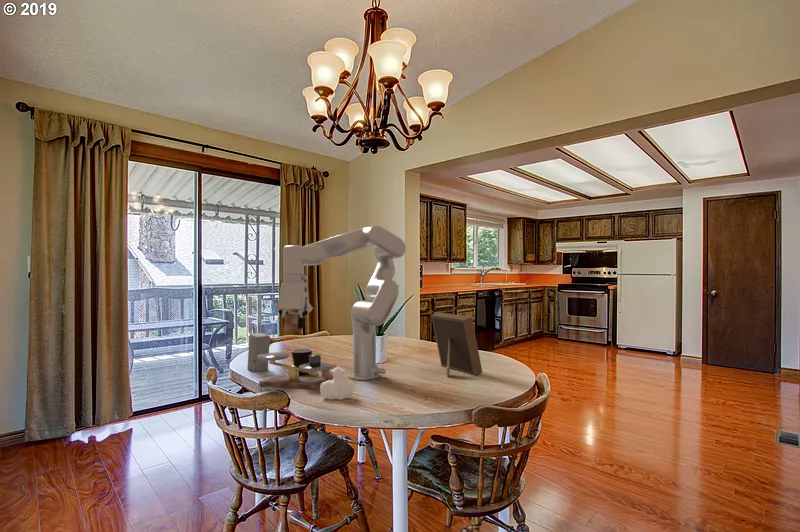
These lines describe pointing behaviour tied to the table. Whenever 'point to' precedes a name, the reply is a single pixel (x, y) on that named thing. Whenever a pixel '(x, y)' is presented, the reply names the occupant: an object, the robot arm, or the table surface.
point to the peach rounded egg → (328, 372)
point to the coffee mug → (301, 358)
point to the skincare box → (258, 351)
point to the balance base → (292, 382)
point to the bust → (337, 386)
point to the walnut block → (291, 322)
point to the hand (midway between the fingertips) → (293, 327)
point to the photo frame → (457, 343)
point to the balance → (308, 368)
